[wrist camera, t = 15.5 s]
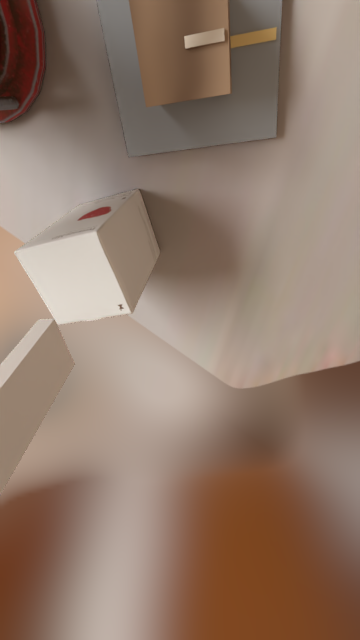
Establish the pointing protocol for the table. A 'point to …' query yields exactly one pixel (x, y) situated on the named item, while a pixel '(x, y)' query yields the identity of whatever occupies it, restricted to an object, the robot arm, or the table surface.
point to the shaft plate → (207, 113)
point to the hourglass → (20, 57)
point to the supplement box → (93, 259)
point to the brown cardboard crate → (182, 49)
